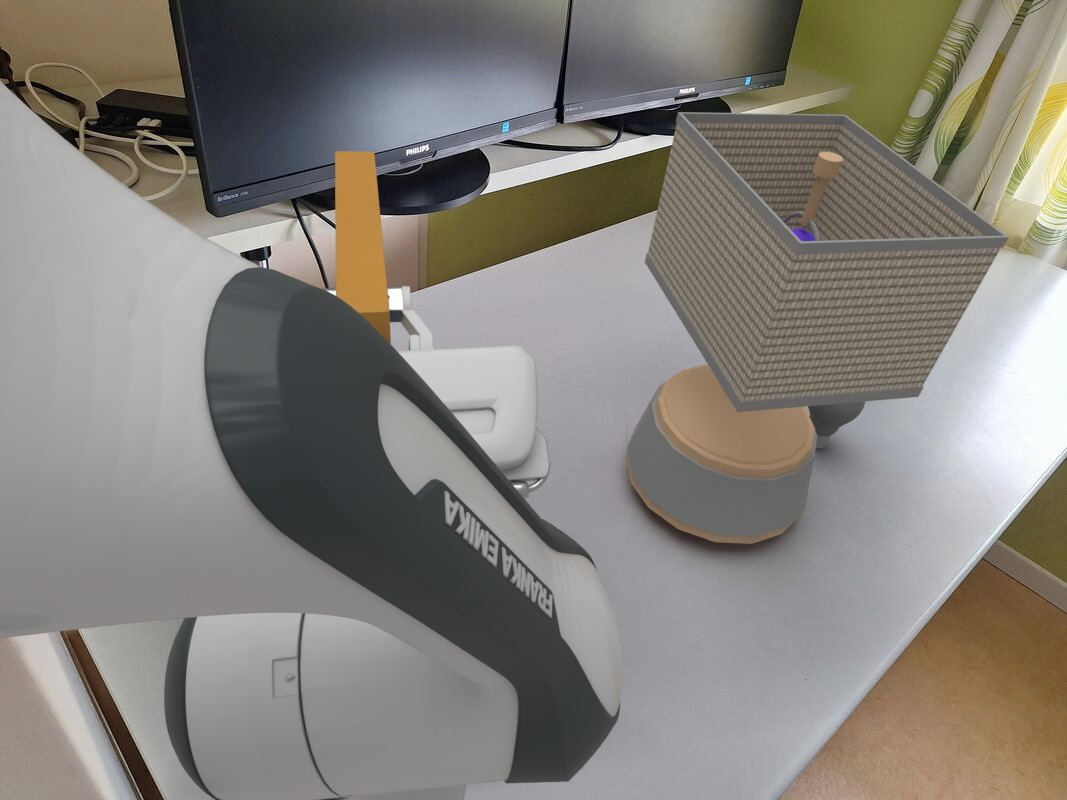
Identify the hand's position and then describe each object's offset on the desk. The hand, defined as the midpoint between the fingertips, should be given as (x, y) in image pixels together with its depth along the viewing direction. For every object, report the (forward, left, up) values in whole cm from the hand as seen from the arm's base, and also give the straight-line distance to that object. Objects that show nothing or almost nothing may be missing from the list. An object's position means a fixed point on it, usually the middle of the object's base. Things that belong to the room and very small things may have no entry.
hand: (361, 291), depth 47 cm
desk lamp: (+35, +9, -32) cm, 48 cm away
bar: (0, +7, -2) cm, 7 cm away
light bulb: (+50, +14, -32) cm, 61 cm away
